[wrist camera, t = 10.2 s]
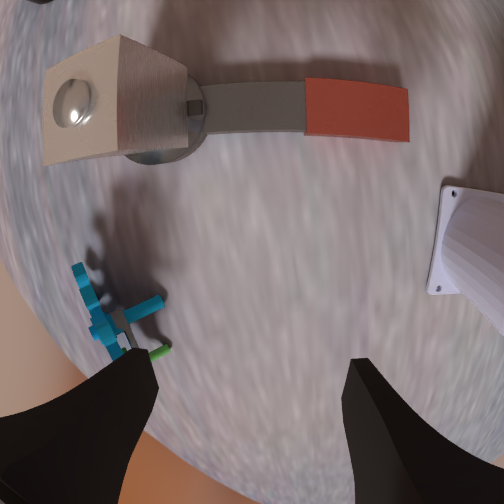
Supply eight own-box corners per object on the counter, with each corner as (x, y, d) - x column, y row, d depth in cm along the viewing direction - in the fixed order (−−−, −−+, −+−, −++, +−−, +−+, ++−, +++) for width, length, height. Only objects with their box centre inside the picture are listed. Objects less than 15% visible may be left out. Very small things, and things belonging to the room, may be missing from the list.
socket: (187, 67, 13) (113, 31, 7) (188, 147, 14) (110, 150, 8) (119, 83, 14) (39, 70, 8) (120, 155, 15) (37, 167, 9)
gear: (58, 249, 19) (73, 311, 12) (124, 223, 22) (176, 265, 15) (105, 353, 24) (146, 429, 17) (156, 328, 27) (212, 391, 20)
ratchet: (393, 74, 14) (429, 53, 9) (396, 163, 16) (435, 170, 11) (126, 83, 16) (82, 68, 11) (128, 166, 18) (82, 175, 13)
